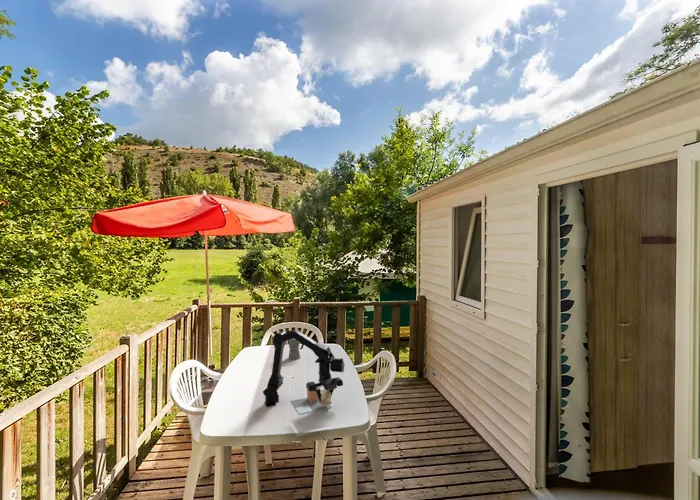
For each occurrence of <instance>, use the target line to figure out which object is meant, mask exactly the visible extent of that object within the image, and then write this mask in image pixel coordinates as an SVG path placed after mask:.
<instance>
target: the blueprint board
mask: <svg viewBox="0 0 700 500" xmlns="http://www.w3.org/2000/svg"><path fill="white" fill-rule="evenodd" d="M290 403H291V405H292V406H293V408H294V410H295V411H296V412H297V414H298V415H299V416H300V415H305V414H310V413H315V412H316V413H317V412H321V411H325V410H330V409H333V407H332V405H331V404H329V405H324V406H322V405H321V404H320V403H319V400H318V401H313V402H310V401H309V400H308V399H307V397H305V398H304V397H303V398H297V399H294V400H290Z"/></svg>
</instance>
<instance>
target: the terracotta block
mask: <svg viewBox="0 0 700 500" xmlns="http://www.w3.org/2000/svg"><path fill="white" fill-rule="evenodd" d="M306 398H307V399H308V400H309V401H310V402H313V401H318V400H319V398H318V396H317V393H316V392H315V391H309V390H308V389H307V388H306Z"/></svg>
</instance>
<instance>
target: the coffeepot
mask: <svg viewBox="0 0 700 500" xmlns="http://www.w3.org/2000/svg"><path fill="white" fill-rule="evenodd" d="M287 341H288V347H289V352H288V358H289V359H288V360H290V359H297V360H300V359H301V354H300V350H303V348H304V346H305V345H303V344H302V343H301V347H300V342H299V341H297V340H295V339H294V338H293V339H290V340H287ZM299 358H300V359H299Z"/></svg>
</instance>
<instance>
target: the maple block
mask: <svg viewBox="0 0 700 500" xmlns="http://www.w3.org/2000/svg"><path fill="white" fill-rule="evenodd" d="M320 390H321V392H320V394H321V401H319V403H320V404H321V405H322V406H324V405H332V396H331V392H330V391H329V390H325V389H323V390H322V389H320Z"/></svg>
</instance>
